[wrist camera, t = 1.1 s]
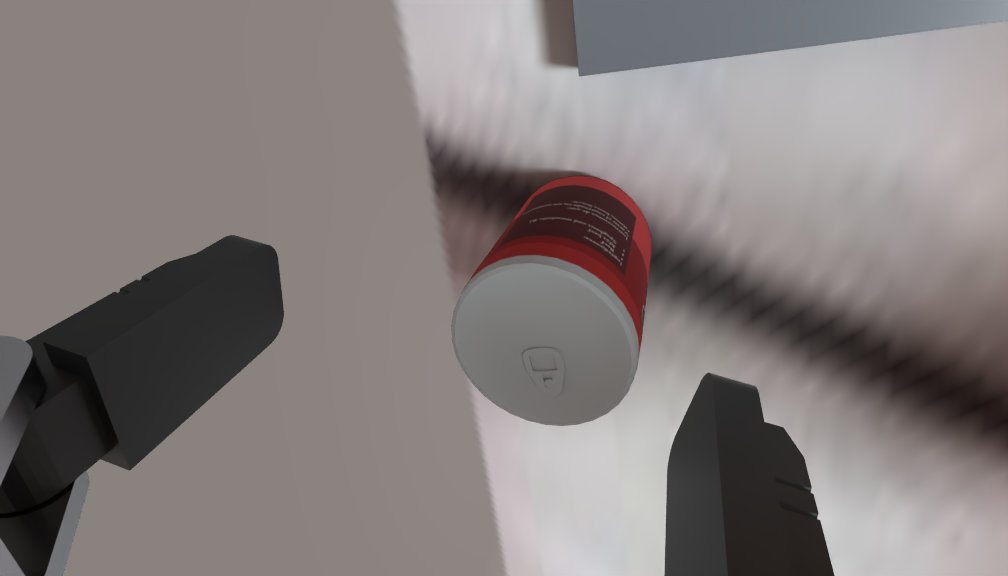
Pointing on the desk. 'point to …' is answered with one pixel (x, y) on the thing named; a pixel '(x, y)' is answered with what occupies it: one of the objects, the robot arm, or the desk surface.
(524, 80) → the desk surface
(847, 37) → the keypad board
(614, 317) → the canned food
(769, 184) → the desk surface
